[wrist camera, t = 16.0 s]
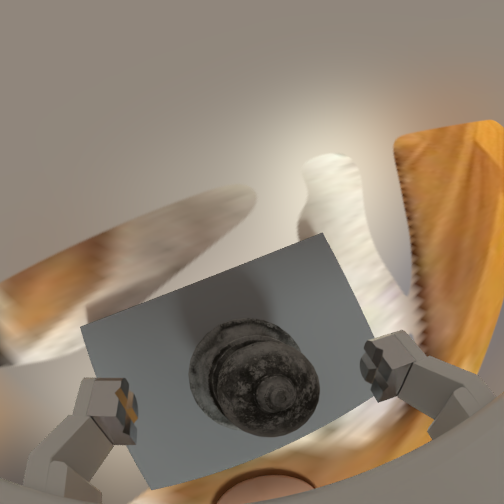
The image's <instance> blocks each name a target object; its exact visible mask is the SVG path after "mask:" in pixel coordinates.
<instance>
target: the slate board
mask: <svg viewBox="0 0 504 504" xmlns="http://www.w3.org/2000/svg"><path fill="white" fill-rule="evenodd" d="M243 318H253V319H260V320H265V321H267V322H270V323H272V324H275V325H277V326H279V327H280V328H281V329H283V330H284V331H285V332H287V333H288V334H289V335H290V336H291V337H292V338H293V340H294V341H295V342H296V343H297V345H298V346H299V348H300V350H301V353H302V354H304V355H305V356H306V358H307V359H308V360H309V361H310V363H311V364H312V365H313V366H314V368H315V371H316V373H317V375H318V378H319V384H320V395H319V402H318V404H317V407H316V409H315V411H314V413H313V415H312V416H311V417H310V418H309V420H308V421H307V422H306V423H305V424H304V425H302V426H301V427H300V428H299V429H297V430H296V431H293V432H291V433H289V434H287V435H284V436H278V437H272V438H271V437H259V436H256V435H253V434H250V433H247V432H244V431H241V430H233V429H230V428H227V427H225V426H222V425H220V424H218V423H216V422H215V421H213V420H212V419H211V418H209V417H208V416H207V415H206V414H205V413H204V412H203V411H202V410H201V408H200V407H199V406H198V405H197V403H196V401H195V399H194V397H193V394H192V392H191V390H190V383H189V376H188V373H189V366H190V360H191V357H192V355H193V353H194V351H195V348H196V346H197V345H198V343H199V342H200V341H201V340H202V339H203V337H204V336H205V335H206V334H207V333H208V332H210V331H211V330H213V329H214V328H215V327H217V326H218V325H220V324H223V323H226V322H228V321H231V320H234V319H243ZM80 328H81V332H82V335H83V339H84V342H85V345H86V348H87V351H88V354H89V357H90V360H91V363H92V366H93V369H94V372H95V375H96V377H97V378H126V379H127V381H128V383H129V390H130V391H131V392H133V393H134V395H135V397H136V400H137V403H138V411H139V412H138V419H137V420H136V421H135V423H134V424H135V426H136V428H137V444H136V445H126V446H127V448H128V450H129V452H130V454H131V456H132V457H133V459H134V461H135V463H136V465H137V467H138V468H139V470H140V472H141V473H142V475H143V477H144V479H145V480H146V482H147V483H148V485H149V487H150V489H151V490H154V489H159V488H163V487H168V486H172V485H176V484H180V483H183V482H187V481H191V480H194V479H198V478H201V477H204V476H208V475H211V474H214V473H217V472H220V471H223V470H226V469H229V468H231V467H234V466H237V465H240V464H242V463H245V462H247V461H250V460H253V459H255V458H258V457H260V456H262V455H265V454H267V453H269V452H272V451H274V450H276V449H279V448H281V447H283V446H285V445H287V444H289V443H291V442H294V441H296V440H298V439H300V438H302V437H304V436H306V435H308V434H310V433H312V432H314V431H315V430H317V429H319V428H321V427H323V426H325V425H327V424H328V423H330V422H332V421H334V420H336V419H337V418H339V417H341V416H342V415H344V414H346V413H348V412H349V411H351V410H352V409H354V408H356V407H357V406H359V405H361V404H362V403H364V402H365V401H367V400H368V399H370V398H371V397H373V396H374V395H373V393H372V392H371V390H370V388H371V384H370V383H368V382H366V381H365V380H364V378H363V377H362V374H361V372H360V360H361V357H362V356H363V355H364V353H365V352H366V351H365V350H364V345H365V343H366V341H367V340H370V339H373V338H374V336H373V334H372V331H371V329H370V327H369V325H368V323H367V320H366V318H365V316H364V314H363V312H362V310H361V308H360V306H359V303H358V301H357V299H356V297H355V295H354V293H353V291H352V289H351V287H350V285H349V283H348V281H347V279H346V277H345V275H344V273H343V271H342V269H341V267H340V265H339V263H338V261H337V259H336V257H335V255H334V253H333V251H332V250H331V248H330V246H329V244H328V242H327V240H326V238H325V236H324V234H323V233H320V234H318V235H315V236H313V237H310V238H307V239H305V240H302V241H300V242H297V243H295V244H292V245H290V246H287V247H285V248H282V249H280V250H277V251H275V252H272V253H270V254H267V255H265V256H262V257H260V258H257V259H254V260H252V261H249V262H247V263H244V264H242V265H239V266H237V267H234V268H232V269H229V270H227V271H224V272H222V273H219V274H216V275H214V276H211V277H209V278H206V279H203V280H201V281H198V282H196V283H193V284H191V285H188V286H185V287H183V288H181V289H178V290H175V291H173V292H170V293H168V294H165V295H162V296H160V297H157V298H155V299H152V300H149V301H147V302H144V303H141V304H139V305H136V306H134V307H131V308H128V309H126V310H123V311H121V312H118V313H115V314H113V315H110V316H108V317H105V318H102V319H100V320H97V321H94V322H92V323H89V324H86V325H84V326H81V327H80Z"/></svg>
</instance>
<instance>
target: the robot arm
mask: <svg viewBox="0 0 504 504" xmlns="http://www.w3.org/2000/svg"><path fill="white" fill-rule="evenodd" d="M364 350H365V351H366V352H365V353H364V355H363V356H362V357H361V360H360V372H361V374H362V377H363V378H364V380H365V381H366V382H368V383H370V384H371V388H370V390H371V392H372V393H373V395H374V397H375V398H376V400H377V402H378V403H379V402H382V401H385V400H387V399H390V398H393V397H396V396H398V398H400V399H401V400H403V401H405V402H406V403H408V404H410V405H411V406H413V407H414V408H416V409H418V410H419V411H421V412H423V413H424V414H426V415H428V416H429V417H431V418H433V419H434V421H433V423H432V424H431V425H430V427H429V428H428V431H427V432H428V434H429V435H430V437H431V438H432V441H430V442H428V443H426V444H424V445H423V446H421V447H419V448H417V449H415V450H413V451H411V452H409V453H407V454H405V455H403V456H401V457H399V458H396V459H394V460H392V461H390V462H388V463H385V464H383V465H381V466H378V467H376V468H374V469H371V470H369V471H366V472H364V473H361V474H358V475H356V476H353V477H350V478H347V479H344V480H342V481H339V482H336V483H332V484H329V485H326V486H323V487H319V488H316V489H312V490H309V491H305V492H301V493H297V494H293V495H288V496H284V497H279V498H274V499H269V500H264V501H258V502H252V503H245V504H504V392H503V393H502V394H500V395H499V396H498V397H496V396H495V394H493V392H492V391H491V389H490V388H489V387H488V386H487V385H486V384H485V382H484V381H483V380H482V379H481V378H480V377H479V375H476V374H474V373H471V372H469V371H466V370H464V369H461V368H459V367H456V366H454V365H451V364H449V363H446V362H444V361H441V360H439V359H436V358H434V357H432V356H428V357H427V356H426V355H425V354H424V353H423V351H422V350H421V349H420V348H419V347H418V346H417V344H416V343H415V342H414V341H413V340H412V339H411V337H410V336H409V335H408V334H407V333H406V332H405V331H403V330H400V331H397V332H394V333H391V334H387V335H383V336H380V337H377V338H373V339H370V340H367V341H366V343H365V345H364ZM138 412H139V411H138V403H137V400H136V397H135V395H134V393H133V392H131V391H130V390H129V383H128V381H127V379H126V378H84V379H83V380H82V381H81V384H80V388H79V392H78V395H77V399H76V403H75V407H74V411H73V415H68V416H67V417H66V418H65V419H64V420H63V421H62V422H61V423H60V424H59V425H58V426H57V427H56V428H55V429H54V430H53V431H52V432H51V433H50V434H49V435H48V436H47V437H46V438H45V439H44V440H43V441H42V442H41V443H40V444H39V445H38V446H37V447H36V448H35V449H34V450H33V451H32V452H31V453H30V454H29V457H28V462H27V466H26V471H25V476H24V481H23V486H22V485H19V484H16V483H13V482H10V481H8V480H5V479H2V478H0V504H102V493H101V492H100V490H98V489H97V488H96V487H94V486H93V485H92V484H90V483H89V482H90V480H91V479H92V477H93V476H94V474H95V473H96V471H97V470H98V468H99V467H100V466H101V464H102V463H103V461H104V460H105V458H106V457H107V456H108V454H109V452H110V451H111V450H112V448H113V447H114V446H113V445H136V444H137V428H136V426H135V424H134V423H135V421H136V420H137V419H138Z"/></svg>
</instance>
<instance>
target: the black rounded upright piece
mask: <svg viewBox="0 0 504 504" xmlns="http://www.w3.org/2000/svg"><path fill="white" fill-rule="evenodd" d="M188 376H189V383H190V390H191V392H192V394H193V397H194V399H195V401H196V403H197V405H198V406H199V407H200V408H201V410H202V411H203V412H204V413H205V414H206V415H207V416H208V417H209V418H211V419H212V420H213V421H215V422H216V423H218V424H220V425H222V426H225V427H227V428H230V429H233V430H241V431H244V432H247V433H250V434H253V435H256V436H259V437H271V438H272V437H278V436H284V435H287V434H289V433H291V432H293V431H296V430H297V429H299V428H300V427H301V426H302V425H304V424H305V423H306V422H307V421H308V420H309V418H310V417H311V416H312V415H313V413H314V411H315V409H316V407H317V404H318V402H319V395H320V384H319V378H318V375H317V373H316V371H315V368H314V366H313V365H312V364H311V363H310V361H309V360H308V359H307V358H306V356H305V355H304V354H302V353H301V350H300V348H299V346H298V345H297V343H296V342H295V341H294V340H293V338H292V337H291V336H290V335H289V334H288V333H287V332H285V331H284V330H283V329H281V328H280V327H279V326H277V325H275V324H272V323H270V322H267V321H265V320H260V319H253V318H243V319H234V320H231V321H228V322H226V323H223V324H220V325H218V326H217V327H215V328H214V329H213V330H211V331H210V332H208V333H207V334H206V335H205V336H204V337H203V339H202V340H201V341H200V342H199V343H198V345H197V346H196V348H195V351H194V353H193V355H192V357H191V360H190V366H189V373H188Z"/></svg>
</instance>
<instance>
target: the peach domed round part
mask: <svg viewBox="0 0 504 504" xmlns="http://www.w3.org/2000/svg"><path fill="white" fill-rule="evenodd" d="M312 489H314V488H313V487H312V486H311V485H309V484H308V483H306V482H305V481H303V480H300V479H298V478H295V477H291V476H285V475H265V476H258V477H254V478H251V479H247V480H245V481H242V482H240V483H238V484H236V485H234V486H233V487H231V488H230V489H229V490H227V491H226V492H225V493H224V494H223V495H222V496H221V497H220V499H219V500H218V502H217V503H216V504H245V503H252V502H258V501H264V500H269V499H274V498H279V497H284V496H288V495H293V494H297V493H301V492H305V491H309V490H312Z"/></svg>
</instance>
